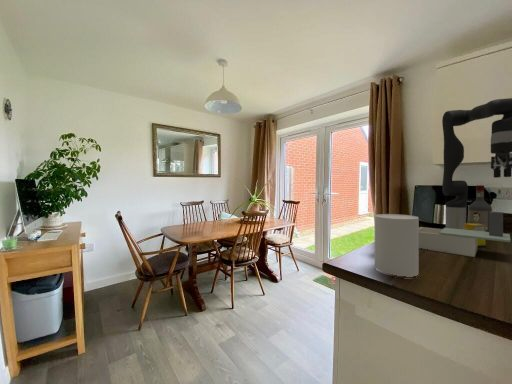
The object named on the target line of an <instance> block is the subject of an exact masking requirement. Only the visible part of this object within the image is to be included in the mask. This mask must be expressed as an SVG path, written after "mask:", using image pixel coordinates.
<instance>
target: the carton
mask: <svg viewBox="0 0 512 384" xmlns="http://www.w3.org/2000/svg"><path fill="white" fill-rule="evenodd" d="M442 229H443V228H435V227H434V228H433V227H422V226H420V227H419V249H421V248H422V249H421V250H427V249H428V251H433V252H441V253H447V254H452V255H458V256H466V257H471V258H475V257H476V254H477V252H478V247H477V238H468V237H460V236H451V235H442V234H439V232H440V231H441V230H442Z"/></svg>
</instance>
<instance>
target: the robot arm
mask: <svg viewBox="0 0 512 384" xmlns="http://www.w3.org/2000/svg"><path fill="white" fill-rule="evenodd" d="M494 116H502V117H501V118H500V119H497V120H495V121H493V122H492V123H491V136H490V153H491V154H493V155H494V154H495V156H491V157H490V169H491V170H493V178H496V179H497V178H501V177H502V174H501V172H502V171H501V170H502V167H503V177H504V178H511V177H512V97H511V98H510V97H508V98H498V99H493V100H490V101H488V102H486V103H484V104H480V105H477V106H474V107H473V108H472V109H456V110H447V111H445V112H444V114H443V116H442V117H441V118H442V119H441V121H442V123H441V124H442V134H443V175H442V176H443V177H442V186H441V189H442V193H443V195H444V196H448V197H449V196H452V197H454V196H455V198H454V199H452V200H449V201H446V202H445V228H453V229H463V223H467V205H468V204H467V203H468V193H469V186H468V183H467V181H466V180H453V176H454V173H455V171H456V170H457V168H458V167H459V166H460V165H461V164H462V162H463V161H464V158H465V146H464V145H463V143H462V142H461V140H460V139H459V137H458V136H457V135H456V133H455V130H454V127H460V126H464V125H466V124H469V123H471V122H473V121H477V120H483V119H488V118H491V117H494Z"/></svg>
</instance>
